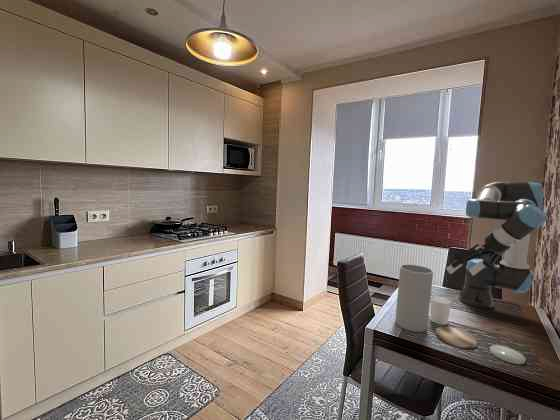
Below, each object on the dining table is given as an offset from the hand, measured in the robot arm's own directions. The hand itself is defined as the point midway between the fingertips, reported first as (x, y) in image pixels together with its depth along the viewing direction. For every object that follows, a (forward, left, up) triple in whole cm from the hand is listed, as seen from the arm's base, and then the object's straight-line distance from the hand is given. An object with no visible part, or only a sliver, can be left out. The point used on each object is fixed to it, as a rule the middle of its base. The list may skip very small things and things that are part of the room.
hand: (459, 272), depth 119 cm
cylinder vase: (+17, -7, -25) cm, 31 cm away
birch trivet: (+7, +6, -25) cm, 26 cm away
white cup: (+1, -7, -25) cm, 26 cm away
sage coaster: (-1, +20, -25) cm, 32 cm away
